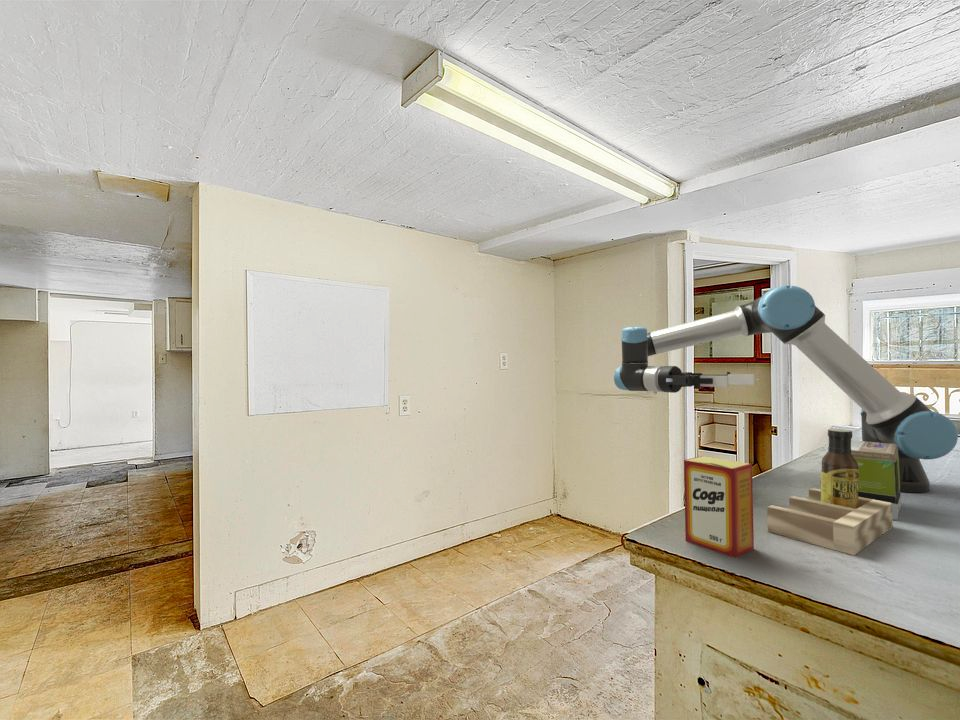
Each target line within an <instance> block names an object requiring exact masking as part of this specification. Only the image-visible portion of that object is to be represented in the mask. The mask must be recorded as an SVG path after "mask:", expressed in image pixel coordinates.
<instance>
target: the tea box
mask: <svg viewBox="0 0 960 720" xmlns="http://www.w3.org/2000/svg"><path fill="white" fill-rule="evenodd" d="M851 454H852V456H853V457H854V459H855V460H856V462H857V464H858V471H859V483H858V492H859V493H858V497H863V498H868V499H874V500H879V501H885V502H890V503H892V516H893V521H898V518H899V513H900V510H901V505H902V497H901V495H902V493H901V491H900V472H899V455H898V445H897V444H889V443H878V442H865V441H862V440H851Z"/></svg>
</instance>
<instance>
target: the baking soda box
mask: <svg viewBox="0 0 960 720" xmlns="http://www.w3.org/2000/svg"><path fill="white" fill-rule="evenodd" d="M683 473H684V475H683V476H684V477H683V479H684V481H683V482H684V483H683V484H684V522H685V523H684V524H685V525H684V526H685V527H684V530H685V535H684V537H685V541H686V542H688V543H692V544H695V545H698V546H700V547H702V548H706V549H709V550H712V551H715V552H718V553H721V554H724V555H727V556H730V557H732V558H738V557H740V556H742V555H744V554H747V553H748V552H751V551H752V550H754V549H755V543H754V542H755V540H754V537H755V536H754V535H755V533H754V532H755V531H754V505H753V504H754V497H753V496H754V495H753V493H754V489H753V488H754V487H753V464H752V463H749V462H744V461H743V462H741V461H737V460H733V459H726V458H724V459H722V458H717V457H716V458H715V457H709V456H705V455H701V456H696V457H691V458H687V459H684V460H683Z"/></svg>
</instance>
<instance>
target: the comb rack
mask: <svg viewBox="0 0 960 720" xmlns="http://www.w3.org/2000/svg"><path fill="white" fill-rule="evenodd" d="M788 500H789V501H788V502H789V505H788V506H789V508H786V507H782V506H778V505H773V504H771V505H769V506H766V515H767V516H766V517H767V519H766V520H767V521H766V523H767V526H766V527H767V533H771V532H772V533H771V534H774V533H775V535H778V534H779V535H780V536H781V537H786V538H790V539H793V540H797V541H801V542H805V543H807V544H811V545H816V546H819V547H823V548H827V549H830V550H834V551H837V552H842V553H844V554H849V555H852V556H856V555H857V554H858V553H859V552H861V551H862V550H863V549H864V548H866V547H868V546H869V545H870V544H872V543H873V542H874V541H876V540H877V539H878V537H879V538H880V537H881V536H883V535H884V534H885V533H887V532H888V531H889V529H890V528H891V529H893V526H894V525H893V523H894V520H893V516H892V503H890V502H885V501H879V500H874V499H868V498H863V497H858V508H857V509H854V508H849V507H844V506H839V505H834V504H829V503H825V502H821V488H819V489H818V488H814V487H812V488H809V489H808V498H804V497H799V496H796V495H795V496H794V495H792V496H790V497H789V498H788ZM891 529H890V530H891ZM887 530H888V531H887ZM886 531H887V532H886ZM882 534H883V535H882ZM779 535H778V536H779Z"/></svg>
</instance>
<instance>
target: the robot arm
mask: <svg viewBox="0 0 960 720" xmlns="http://www.w3.org/2000/svg"><path fill="white" fill-rule="evenodd" d="M767 333H772V334H773V335H774V336H776V337H777V339H778V340H779V341H780V342H782V343H783V344H784V345H792V346H795V347H796V348H797V349H798V350H799V351H800V352H802V354H803V355H804V356H805V357H806V358H807V359H808V360H810V361H811V362H812V363H813V364H814V365H815V366H816V367H817V368H818V369H820V371H822V373H824V374H825V375H826V376H827V378H828V379H830V380H831V381H832V382H833V383H834V384H835V385H836V386H838V388H839V389H841V390H842V391H843V392H844V394H846V395H847V396H848V397H849V398H850V399H851V400H852V401H853V402H854V403H855V404H856V405H858V407H859V408H861V411H860V418H861V441H865V442H878V443H889V444H897V445H898V455H899V472H900V491H901V492H902V493H904V492H905V493H926V492H929V491H930V486H931V485H930V480H929V478H928V475H927V473H926V471H925V469H924V466H923V465H922V463H921V460H935V459H940V458H942V457H945V456H946V455H948V454H950V453H951V452H952V451H953V450H954V448H955V447H956V446H957V443H958V440H959V439H958V437H959V431H958V429H957V427H956V425H955V423H954V422H953V421H952V420H951V419H950V418H949V417H947V416H945V415H943V414H942V413H939V412H938V411H937V412H936V411H934V410H931V408H929V407H928V406H927V405H926V404H925V403H923V401H921V400H920V399H919V398H918V397H917V396H915V394H912V393H911V394H910V393H904V392H903V393H902V392H901V391H900V390H898V389H897V387H896V386H894V385H893V384H892V383H891V382H890V381H888V380H887V378H885V377H884V376H883V374H881V373H880V372H879V371H878V370H877V369H876V368H874V366H872V365H871V364H870V363H869V362H868V361H867V360H866V359H865V358H864V357H862V355H860V354H859V353H858V351H856V350H855V349H854V348H853V347H852V346H850V345H849V344H848V343H847V341H845V340H844V339H843V338H842V337H840V335H838V334H837V333H836V331H834V330H833V329H831V328H830V327H829V326H828V325H827V323H826V314H825V313H824V312H823V311H821V310H820V308H819V307H818V306H816V303H815V300H814V298H813V296H812V294H810V292H808V291H807V290H806V289H804V288H802V287H800V286H796V285H782V286H776V287H774V288H771V289H769V290H768V291H767V292H765V293H764V294H763V295H761V296H760V297H758V298H756V299H754V300H752V301H749V302H746V303H745V304H741V305H737V306H736V307H735V308H734V310H730V311H727V312H723V313H719V314H715V315H712V316H708V317H704V318H700V319H696V320H692V321H689V322H688V321H687V322H684V323H681V324H678V325H673V326H670V327H665V328H662V329H657V330H654V331H649V332H648V329H647V327H645V326H629V327H624V328H623V329H621V338H620V339H621V340H620V341H621V357H622V358H621V359H622V360H621V366H619V367H617V368H616V369H615V370H614V374H613V382H614V384H615V386H616V387H617V388H618V389H620V390H622V391H629V392H653V394H654V395H656V394H658V393H673V394H674V393H675V394H676V393H678V392H680V391H681V389H682V388H688V387H694V390H698V389H700V387H711V388H713V387H715V388H729V387H730V386H729V385H736V386H738V385H739V386H743V385H744V386H756V374H749V373H747V374H745V373H744V374H742V373H741V374H737V373H736V374H735V373H734V374H733V373H731V372H730V371H727V372H726V374H703V373H701V372H695V373H694V372H687V371H684V372H683V371H682V370H681V368H680V367H679V366H677V365H675V366H674V365H648V364H649V357H651V356H654V355H659V354H663V353H667V352H671V351H676V350H679V349H680V350H681V349H684V348H689V347H692V346H697V345H701V344H706V343H709V342H715V341H717V340H721V339H727V338H730V337H735V336H738V335H742V336H745V337H748V336H752V335H760V334H767Z"/></svg>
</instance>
